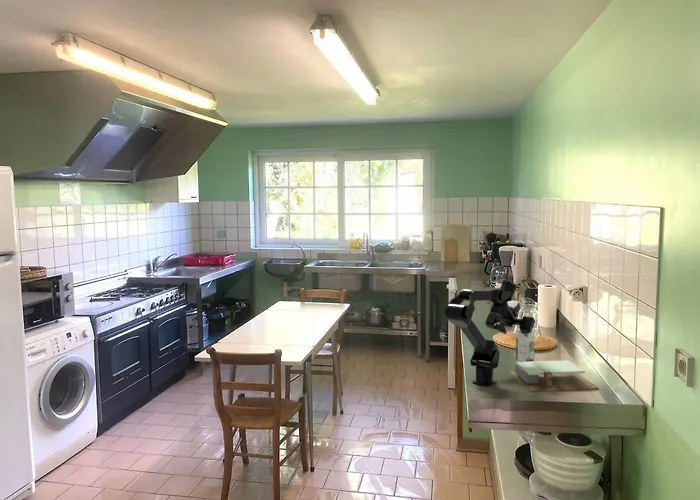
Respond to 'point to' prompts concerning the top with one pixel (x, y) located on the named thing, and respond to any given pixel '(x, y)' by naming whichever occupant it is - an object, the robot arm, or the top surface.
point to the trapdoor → (544, 369)
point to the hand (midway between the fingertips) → (516, 334)
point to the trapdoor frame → (556, 382)
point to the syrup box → (524, 346)
